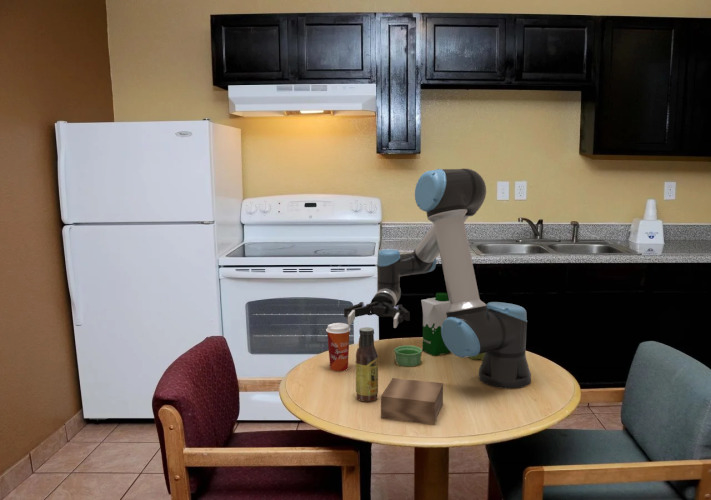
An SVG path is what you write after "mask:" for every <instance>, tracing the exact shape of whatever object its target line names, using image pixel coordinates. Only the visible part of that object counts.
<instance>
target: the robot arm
mask: <svg viewBox="0 0 711 500" xmlns="http://www.w3.org/2000/svg"><path fill="white" fill-rule="evenodd" d="M486 195H487V185H486V182H485V180H484V178H483V177H482V176H481V174H480V173H478V172H477V171H475V170H473V169H470V168H449V169H448V168H437V169H433V170H432V169H431V170H427V171H424V172H423V173H422V174H421V175H420V177H419V178H418V180H417V183H416V184H415V188H414V200H415V203H416V206H417V207H418V208H419V210H421V211H423V212H425V213H426V217H427V220H429V221H430V222H431V223H433V224H432V225H431V227H430V228H429V230H428V231H427V232H426V234H425V235H424V237H423V238H422V240H421V241H420V242H419V243H418V245H417V246H416V248H414V250H413V251H412V252H411V253H410V252H409V253H401V252H400V251H399V250H398V249H395V248H394V249H393V248H387V249H386V248H385V249H381V250H379V252H378V253H377V262H376V263H377V264H376V265H377V285H376V286H377V292H376V293H375V295H373V297H372V299H371V301H370V303H367V304H365V302H364V301H361V302H358V303H357V304H354V305H351V306H347V307H345V308H343V317H344V318H346V320H347V324H348V325H349V326H351V325H352V323H353V322H354V321H355V320H356V318H357V317H362V316H373V315H374V316H376V317H380V318H386V317H388V318H389V317H390V318H393V328H394V329H396V328H397V327H398V325H399V323H400V324H401V323H403V321H406V322H409V321H410V317H411V316H410V311H408V310H407V308H405V307H404V306H403V304H401V303H399V304H398V302H399V301H400V299H401V294H402V291H401V287H400V286H401V285H400V284H401V283H400V281H401V280H400V279H401V277H404V276H405V277H406V276H411V275H412V276H413V275H421V274H427V273H430V272H433V271H434V270H435V269H436V266H437V263H438V262H437V257H438V256H440V260H441V265H442V272H443V275H444V281H445V286H446V287H445V288H446V293H447V294H448V300H449V303H450V306H449V308H448V309H447V311H446V315H447V319H446V320H444V322H443V323H442V327H441V335H442V339H443V341H444V343H445V345H446V347H447V348H448V350H449V351H451V352H450V353H451V354H453V355H454V356H456V357H459V358H469V356H470V357H471V356H476V355H478V354H481V353H485V355H484V358H483V359H482V360H481V364H480V365H479V366H480V367H479V368H478V369H479V370H478V379H479V381H480V382H482V383H483V384H485V385H487V386H491V387H494V388H498V389H512V390H513V389H521V388H524V387H528V386H529V385H530V384H531V382H532V381H531V379H532V373H531V370H530V367H529V363H528V360H527V355H526V354H527V353H526V349H527V348H526V345H527V327H528V326H527V325H528V320H527V319H528V318H527V310H526V309H525V308H524V307H523V306H520V305H518V304H513V303H507V302H501V301H500V302H499V301H490V302H488V303H485V302H484V301H482V300H481V299H480V294H479V289H478V285H477V279H476V274H475V269H474V264H473V261H472V255H471V250H470V244H469V239H468V235H467V229H466V224H465V222H466V221H467V219H468V218H469V217H473V216H475V215H476V214H477V212H478V211H479V210H480V209H481V207H482V205H483V203H484V201H485V199H486ZM397 304H398V305H397Z"/></svg>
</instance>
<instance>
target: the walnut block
mask: <svg viewBox="0 0 711 500" xmlns="http://www.w3.org/2000/svg"><path fill="white" fill-rule="evenodd" d="M389 381H390V382H389V383H388V384H387V385H386V387H385V389H384V390H383V391H382V393H381V395H380V418H381V419H385V420H391V421H392V420H393V421H401V422H409V423H419V424H424V425H426V424H427V425H432V426H433V425H434V426H435V425H436V423H437V420H438V417H439V415H440V412H441V409H442V407H443V404H444V383H443V382H437V381H427V380H416V379H408V378H407V379H406V378H399V377H397V378H396V377H392V378H391V380H389Z"/></svg>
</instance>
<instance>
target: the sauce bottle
mask: <svg viewBox="0 0 711 500" xmlns="http://www.w3.org/2000/svg"><path fill="white" fill-rule="evenodd" d="M358 333H359V337H360V346H359V345H358V348H357V349H356V351H355V352H356V353H355V394H356V398H357V400H359V401H361V402H373V401H376V400H377V399H378V395H379V394H378V393H379V355H378V352H377V350H376V348H375V341H374V342H373V335H375V329H374V328H373V327H360V328H359V330H358Z"/></svg>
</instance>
